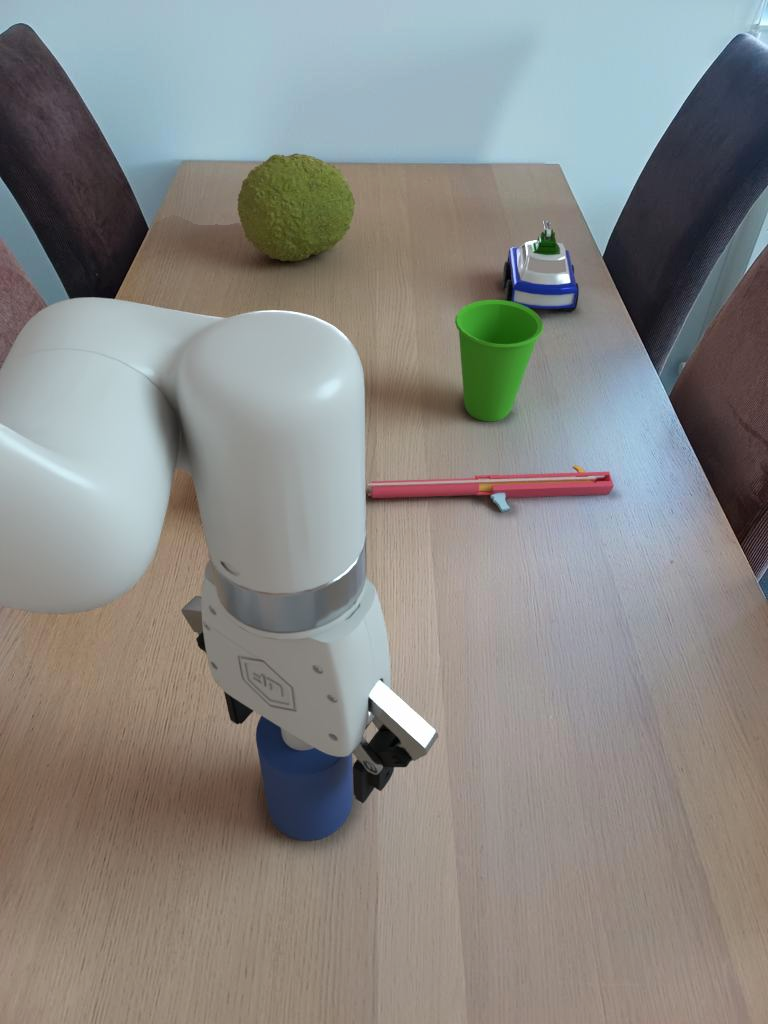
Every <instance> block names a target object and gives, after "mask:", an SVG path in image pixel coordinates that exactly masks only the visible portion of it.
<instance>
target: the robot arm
mask: <svg viewBox="0 0 768 1024" xmlns="http://www.w3.org/2000/svg"><path fill="white" fill-rule="evenodd" d="M365 388H366V387H365V373H364V369H363V364H362V360H361V359H360V356H359V353H358V351H357V349H356V347H355V345H354V343H352V342H351V340H350V339H349V338H348V336H347V335H346V334H344V333H343V332H342V331H341V329H339V328H338V327H336V326H335V325H333V324H331V323H329V322H327V321H325V320H323V319H321V318H319V317H316V316H313V315H311V314H307V313H303V312H299V311H291V310H277V309H271V310H270V309H269V310H267V309H266V310H255V311H249V312H244V313H240V314H235V315H232V316H229V317H222V316H221V317H220V316H214V315H206V314H198V313H193V312H188V311H184V310H183V311H182V310H177V309H171V308H166V307H161V306H157V305H156V306H155V305H150V304H144V303H140V302H134V301H130V300H123V299H118V298H117V299H116V298H107V297H95V296H92V297H91V296H90V297H73V298H69V299H64V300H60V301H57V302H54V303H52V304H50V305H48V306H46V307H44V308H42V309H40V310H39V311H38V312H37V313H35V314H34V315H33V316H32V317H31V318H30V319H29V320H28V321H27V322H26V323H25V324H24V326H23V327H22V328H21V330H20V332H19V333H18V335H17V336H16V338H15V340H14V342H13V344H12V346H11V347H10V350H9V352H8V354H7V356H6V358H5V360H4V361H3V364H2V365H1V368H0V606H2V607H6V608H8V609H14V610H19V611H24V612H29V613H33V614H44V615H45V614H46V615H71V614H72V615H73V614H79V613H87V612H90V611H93V610H96V609H97V610H98V609H100V608H103V607H105V606H107V605H110V604H111V603H113V602H115V601H116V600H118V599H120V598H121V597H123V596H124V595H126V594H127V593H129V591H130V590H132V588H133V587H134V586H135V585H136V584H137V583H138V582H139V581H140V580H141V579H142V577H143V576H144V575H145V573H146V572H147V570H148V568H149V567H150V565H151V563H152V561H153V560H154V557H155V555H156V552H157V549H158V547H159V543H160V538H161V534H162V531H163V526H164V523H165V518H166V514H167V511H168V505H169V502H170V496H171V491H172V486H173V481H174V477H175V476H174V475H175V472H176V470H181V471H184V472H185V473H187V474H188V475H189V476H190V477H191V479H192V483H193V486H194V490H195V491H194V492H195V497H196V500H197V506H198V510H199V521H200V524H201V525H202V529H203V530H202V531H203V535H204V538H205V539H204V540H205V544H206V548H207V553H208V559H209V560H208V561H207V563H206V566H205V570H204V575H203V581H202V588H201V596H200V595H195V596H194V597H193V598H192V599H191V600H189V602H188V603H186V604H185V605H184V606H183V607H182V608H181V614H182V615H183V617H184V618H185V621H186V622H187V623H188V625H189V626H190V628H191V630H192V631H193V633H197V634H198V636H197V637H196V639H195V640H196V643H197V647H198V648H199V649H200V650H201V651H203V652H204V653H205V654H206V658H207V663H208V668H209V671H210V674H211V677H212V679H213V681H214V683H215V684H216V686H218V687H219V688H220V689H221V690H222V691H223V694H224V698H225V703H226V707H227V711H228V716H229V720H230V721H231V722H233V723H234V724H236V725H239V724H240V725H242V724H243V723H244V722H245V721H246V720H247V719H248V718H249V716H250V715H251V714H253V712H255V713H256V714H258V715H259V716H260V717H261V716H263V717H265V718H266V719H268V720H269V721H271V722H273V723H274V724H276V725H278V726H279V727H281V728H282V729H284V730H286V731H287V732H289V733H291V734H292V735H294V736H296V737H297V738H299V739H301V740H302V741H304V742H306V743H307V744H309V745H311V746H313V747H314V748H316V749H318V750H320V751H322V752H324V753H326V754H329V755H332V756H337V757H345V756H349V755H350V754H351V753H352V755H354V757H355V758H356V761H354V762H353V796H354V799H355V800H357V801H358V802H360V803H362V804H365V802H366V801H367V800H368V798H369V797H370V795H371V794H372V792H373V791H374V789H376V790H377V791H379V792H382V791H383V789H385V788H386V786H387V784H388V783H389V781H390V780H391V778H392V776H393V773H394V770H395V768H407V767H408V766H409V764H410V763H411V762H412V761H413V762H415V761H417V760H419V759H421V758H423V757H425V756H426V755H428V753H429V752H430V751H431V748H432V747H433V745H434V744H435V743H436V741H437V739H438V738H439V734H438V731H437V730H436V729H435V728H434V727H432V725H430V724H429V723H428V722H427V721H426V720H425V719H424V718H423V717H422V716H420V715H419V714H418V712H416V711H415V710H414V709H413V708H412V707H411V706H410V705H408V704H407V703H406V702H405V701H404V700H403V699H402V698H401V697H400V696H398V695H397V694H396V693H395V692H394V691H393V690H392V689H391V688H392V686H391V685H392V676H391V675H392V672H391V671H392V670H391V656H390V655H391V654H390V646H389V639H388V632H387V627H386V622H385V617H384V612H383V609H382V604H381V601H380V597H379V594H378V591H377V588H376V586H375V585H374V584H373V583H372V581H370V580H369V579H368V578H367V577H368V576H367V573H368V571H367V570H368V569H367V568H368V567H367V566H368V565H367V505H366V504H367V499H366V498H367V497H366V496H367V495H366V493H367V491H366V389H365ZM371 723H372V724H374V726H375V727H376V728H377V730H378V731H376V733H375V734H374V735H373V737H372V738H371V739H370V740H369V742H368V741H367V740H366V738H365V737H364V734H365V732H366V730H367V729H368V728H369V726H370V724H371Z"/></svg>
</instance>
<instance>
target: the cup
mask: <svg viewBox="0 0 768 1024" xmlns="http://www.w3.org/2000/svg"><path fill="white" fill-rule="evenodd" d="M454 324H455V327H456V330H458V338H459V352H460V363H461V376H462V377H461V379H462V390H463V401H464V402H463V403H464V406H465V409H466V412H467V413H468V414H469V415H470V416H471V417H473V418H474V419H476V420H479V421H482V422H483V421H484V422H496V421H501V420H503V419H504V418H506V417H507V416H509V414H510V413H511V411H512V409H513V406H514V403H515V400H516V397H517V394H518V391H519V390H520V387H521V383H522V381H523V379H524V375H525V373H526V371H527V367H528V365H529V362H530V358H531V355H532V353H533V350H534V347H535V344H536V342H537V340H538V338H540V337H541V336H542V334H543V331H544V323H543V321H542V318H541V316H540V315H539V314H538V313H537V312H536V311H535V310H534V309H531V307H526V306H523V305H521V304H518V303H515V302H511V301H505V299H484V300H479V301H474V302H471V303H469V304H467V305H465V306H464V307H462V308H461V309H460V310H459V311H458V313H457V315H456V316H455V320H454Z"/></svg>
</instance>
